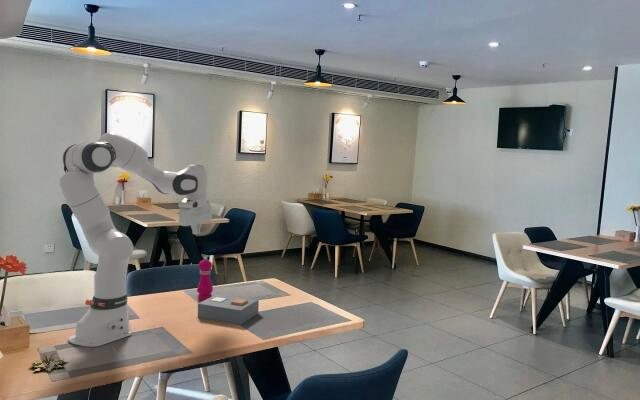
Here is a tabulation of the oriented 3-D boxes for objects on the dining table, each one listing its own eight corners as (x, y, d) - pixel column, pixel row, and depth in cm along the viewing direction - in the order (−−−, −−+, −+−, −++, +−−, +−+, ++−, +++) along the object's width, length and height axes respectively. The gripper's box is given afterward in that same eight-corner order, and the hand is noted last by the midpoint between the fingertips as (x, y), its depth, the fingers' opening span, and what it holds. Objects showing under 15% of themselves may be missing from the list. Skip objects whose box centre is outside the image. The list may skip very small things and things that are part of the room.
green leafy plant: (26, 363, 165) (26, 349, 165) (68, 357, 171) (68, 343, 171) (26, 378, 155) (26, 363, 154) (70, 371, 161) (70, 357, 160)
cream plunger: (220, 313, 216) (220, 301, 215) (210, 311, 218) (210, 300, 217) (226, 309, 221) (226, 298, 220) (216, 308, 222) (216, 297, 222)
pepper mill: (210, 301, 236) (211, 258, 234) (195, 300, 236) (195, 257, 235) (214, 296, 244) (214, 255, 242) (199, 296, 244) (199, 254, 242)
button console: (240, 324, 207) (240, 310, 206) (197, 317, 213) (197, 303, 213) (258, 313, 222) (258, 299, 221) (218, 306, 228) (218, 293, 228)
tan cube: (241, 315, 212) (241, 303, 212) (230, 313, 214) (231, 301, 214) (247, 311, 217) (247, 300, 217) (236, 309, 219) (237, 298, 218)
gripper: (203, 199, 232) (203, 229, 233) (176, 203, 213) (175, 236, 214) (215, 200, 230) (215, 231, 231) (189, 204, 210) (188, 237, 212)
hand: (196, 233), depth 222 cm, fingers closed
